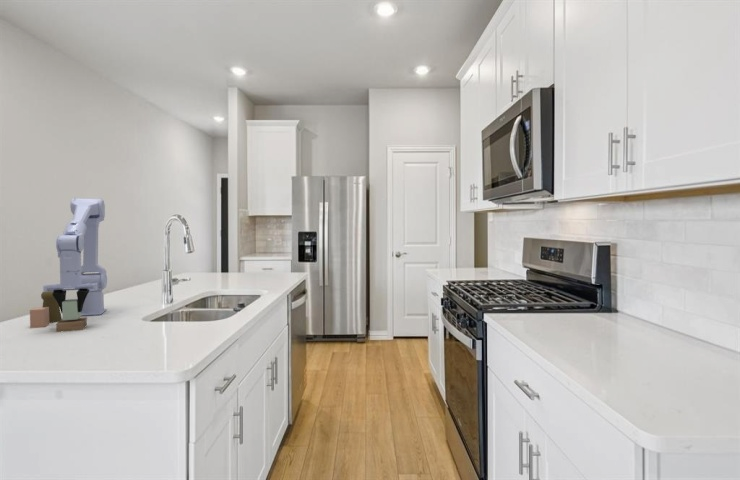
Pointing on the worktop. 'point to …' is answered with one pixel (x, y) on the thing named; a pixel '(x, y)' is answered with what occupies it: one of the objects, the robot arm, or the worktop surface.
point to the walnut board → (71, 324)
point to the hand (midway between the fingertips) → (71, 312)
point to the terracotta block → (39, 317)
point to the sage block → (70, 309)
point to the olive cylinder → (51, 306)
